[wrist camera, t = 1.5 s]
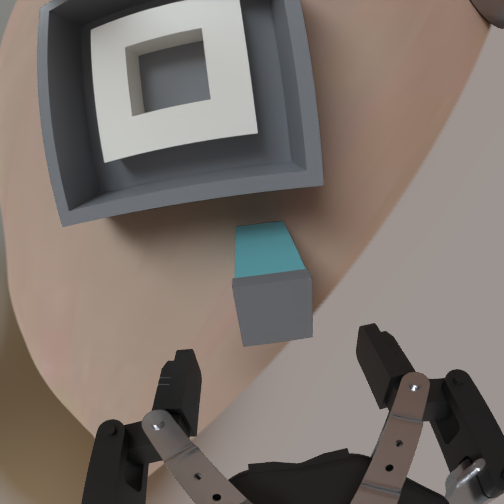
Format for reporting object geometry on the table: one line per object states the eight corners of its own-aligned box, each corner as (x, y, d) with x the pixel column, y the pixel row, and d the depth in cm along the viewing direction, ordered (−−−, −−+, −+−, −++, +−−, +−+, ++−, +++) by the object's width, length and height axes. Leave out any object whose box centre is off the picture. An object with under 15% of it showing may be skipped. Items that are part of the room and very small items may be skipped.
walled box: (275, -23, 15) (285, -58, 10) (303, 171, 22) (323, 185, 17) (75, 24, 15) (40, 7, 10) (97, 204, 23) (62, 227, 17)
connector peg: (284, 219, 24) (311, 277, 15) (287, 264, 26) (312, 336, 17) (234, 225, 24) (232, 287, 15) (241, 270, 26) (243, 346, 17)
